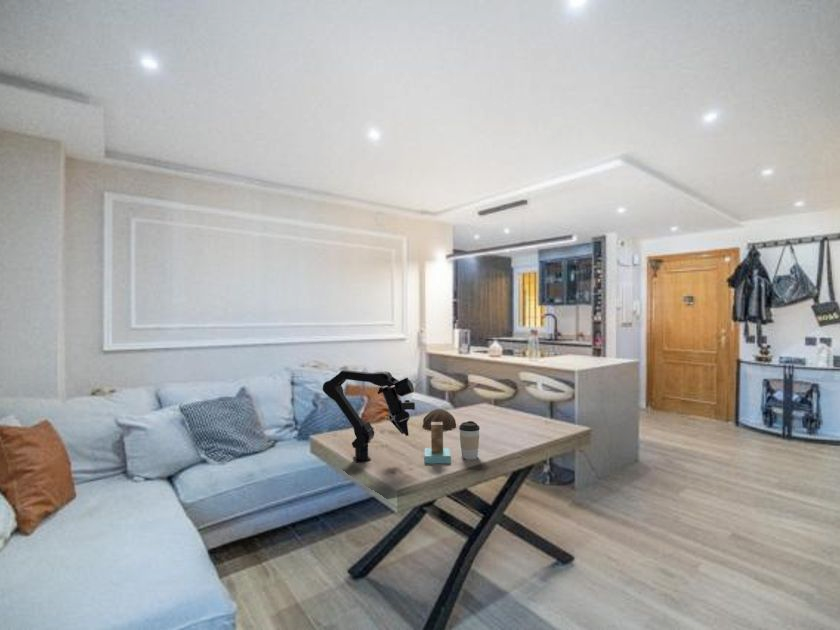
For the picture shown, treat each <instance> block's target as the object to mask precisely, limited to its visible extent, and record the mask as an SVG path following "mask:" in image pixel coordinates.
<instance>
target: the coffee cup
mask: <svg viewBox="0 0 840 630" xmlns="http://www.w3.org/2000/svg"><path fill="white" fill-rule="evenodd" d="M459 441H460V449H461V458H462V457H463V458H462V459H464V458H465V460H475V458H476V459H478V455H479V453H478V452H479V445H480V426H479V425H478V423H476V422H475V421H473V420H469V421H465V422H461V424H460V425H459Z"/></svg>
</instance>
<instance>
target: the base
mask: <svg viewBox="0 0 840 630" xmlns="http://www.w3.org/2000/svg"><path fill="white" fill-rule="evenodd" d="M450 451H451V450H450V447H443V454H432V451H431V447H425V448H424V464H451V463H452V462H451V461H452V460H451V456H452V455H451V452H450Z"/></svg>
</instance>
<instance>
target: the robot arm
mask: <svg viewBox="0 0 840 630" xmlns="http://www.w3.org/2000/svg"><path fill="white" fill-rule="evenodd" d="M347 380H348V381H349V380H350V381H355V382H363V383H365V382H366V383H370V384H373V385H374V386H377V387H379V388H378V391H377V395H379V394H382V395H383V398H384V400H385V404H386V408H387V409H388V411H389V413H388V415H387V417H388V420H389V421H390V422H391V424H393V426H394V427H395V429H397V431H399V433H400V434H401V435H405V437H408V436H409V429H408V428H409V427H408V426H409V425H408V421H409V420H410V416H411V415H410V413H409V412H408V411H407V410H412V411H416V402H414V401H410V400H409V399H405V400H404V402H402V400H401V399H400V398H401V397H404V396H407V395H410V394H412V393H414V392H415V387H414V385H413V383H412V381H411V380H410V379H409V377H404V378H403V379H401V380H398V379H397V378H395V377H394V376H393V375H392V374H391V372H389V371H378V372H377V371H376V372H368V371H367V372H366V371H356V370H349V369H343V370H341V371H340V372H339V373H338V374H336V375H335V376H334V377H332V378H331V379H330V380H327V381H325V382H324V383H323V384H322V389H321V390H322V392H324V393H325V395H326V396H327V397H328V398H329V399H331V400H333V401H334V402H335V403H336V405H337V406H338V408H339V410H341V412H342V413H343V415H344V416H345V418H346V419H347V420H348V421H349V423H350V424H351V426H352V428H353V432H354V436H355V439H354V440H353V441H352V442H351V445H352V448H354V454H355V455H354V456H352V459H353V460H354V461H355V462H356V463H361V462H367V461H368V462H369V461H371V460H372V459H371V457H370V456H369V444H370V443H371V442H372V441H371V440H373V439H374V437H375V431H374V429H375V428H374V427H373V426H372V425H371V422H370V421H367V422H365V421H363V419H362V418H361V417H360V415H359V414H358V412H357V411H356V410H355V408H354V407H353V406H352V404H351V403H350V401H349V400H348V398H347V397H346V395H345V393H344V389H343V386H342V385H343V384H344V383H346V381H347ZM399 396H400V398H399Z"/></svg>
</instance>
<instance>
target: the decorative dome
mask: <svg viewBox="0 0 840 630" xmlns="http://www.w3.org/2000/svg"><path fill="white" fill-rule="evenodd" d="M431 422H442V423H443V431H450V430H452V429H451V428H453V429H456V428H457V422H456V419H455V417H454V416H453V415H452V413H451V412H449V411H447V410H445V409H442V408H437V409H434V410H431V411H429V412H428V414H426V415H425V416H424V418H423V419H422V428H424V427H425V428H424V429H426V428H427V429H429V431H431ZM455 427H456V428H455ZM427 429H426V430H427Z"/></svg>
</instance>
